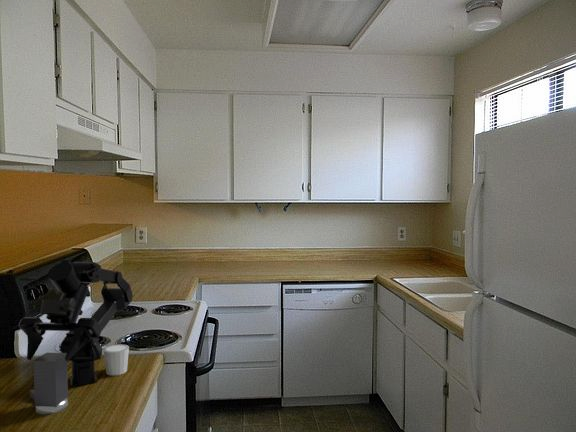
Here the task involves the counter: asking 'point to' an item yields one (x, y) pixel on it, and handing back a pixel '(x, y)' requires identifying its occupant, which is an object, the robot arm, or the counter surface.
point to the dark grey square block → (50, 379)
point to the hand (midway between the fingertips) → (47, 359)
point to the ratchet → (47, 409)
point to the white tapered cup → (116, 359)
